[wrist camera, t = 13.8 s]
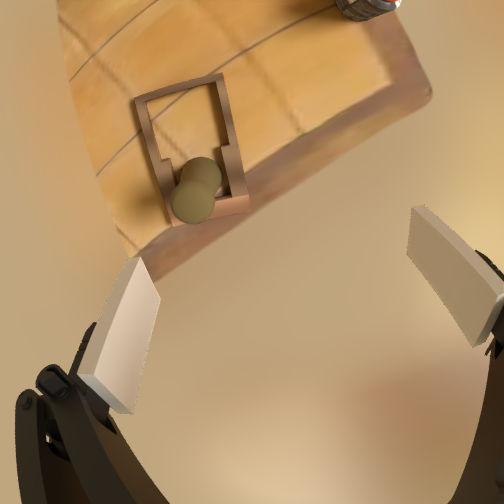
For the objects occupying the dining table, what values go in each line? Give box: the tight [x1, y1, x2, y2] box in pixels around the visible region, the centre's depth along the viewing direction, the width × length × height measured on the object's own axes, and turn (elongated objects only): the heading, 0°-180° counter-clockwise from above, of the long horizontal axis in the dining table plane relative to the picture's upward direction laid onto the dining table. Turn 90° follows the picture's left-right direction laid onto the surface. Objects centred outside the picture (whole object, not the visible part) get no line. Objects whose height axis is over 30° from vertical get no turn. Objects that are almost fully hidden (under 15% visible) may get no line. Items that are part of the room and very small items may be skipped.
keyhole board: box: [134, 73, 251, 226], centre depth 37 cm, size 20×12×2 cm, turn 11°
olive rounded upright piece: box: [170, 157, 222, 224], centre depth 35 cm, size 6×6×11 cm
